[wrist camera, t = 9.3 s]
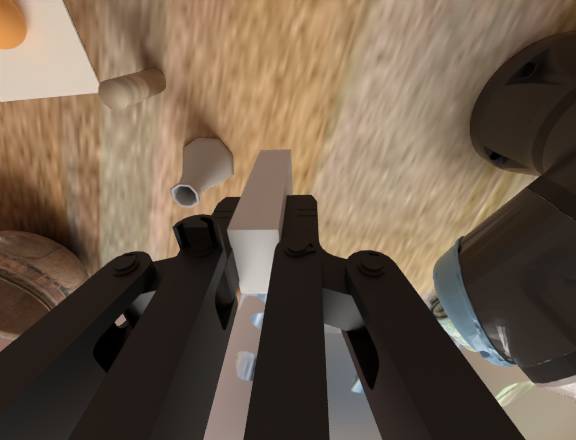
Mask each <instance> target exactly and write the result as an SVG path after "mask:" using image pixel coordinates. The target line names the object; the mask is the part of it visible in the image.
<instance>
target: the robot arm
mask: <svg viewBox="0 0 576 440" xmlns="http://www.w3.org/2000/svg"><path fill="white" fill-rule="evenodd" d="M470 136H471V141H472V144H473V146H474V148H475V150H476V151H477V152H478V154H479V155H480V156H481V157H483V158H484V159H485V160H487V161H488V162H489V163H491V164H492V165H494V166H496V167H498V168H500V169H503V170H506V171H510V172H516V173H522V174H528V175H534V176H539V177H538V178H537V179H536V180H534V181H533V182H532V183H531V184H530V185H528V186H527V187H525V188H524V189H523V190H522V191H521V192H519V193H518V194H517V195H516V196H515V197H513V198H512V199H511V200H510V201H508V202H507V203H506V204H505V205H503V206H502V207H501V208H500V209H498V210H497V211H496V212H495V213H493V214H492V215H491V216H490V217H488V218H487V219H486V220H484V221H483V222H482V223H481V224H479V225H478V226H477V227H476V228H474V229H473V230H472V231H471V232H469V233H468V234H467V235H466V236H461V237H460V238H459V239H457V241H456V242H455V245H454V246H453V247H451V248H450V249H449V250H448V251H447V252H446V253H445V254H444V255H442V256H441V257H440V258H439V259H438V260H437V262H436V264H435V266H434V270H433V279H434V286H435V290H436V293H437V296H438V298H439V300H440V303H441V305H442V307H443V309H444V311H445V312H446V314H447V316H448V317H449V319H450V320H451V322H452V324H453V325H454V326H455V328H456V329H457V331H458V332H459V333H460V335H461V336H462V337H463V338H464V340H465V341H466V342H467V343H468V344H469V345H470V346H471V347H472V348H473V349H474V350H475V351H479V352H480V354H481V355H482V357H483V358H484V359H486V360H487V361H489V362H491V363H493V364H495V365H498V366H510V367H512V366H514V365H516V364H517V365H518V366H519V367H520V368H521V370H522V371H523V372H524V373H525V374H526V375H527V376H528V378H529V379H530V380H531V381H532V382H533V383H534V384H535V385H536V386H537V387H540V388H543V389H546V390H549V391H552V392H555V393H558V394H561V395H564V396H567V397H568V398H570V399H572V400H574V401H575V402H576V31H571V32H564V33H559V34H555V35H552V36H549V37H546V38H544V39H542V40H539V41H537V42H535V43H533V44H532V45H530V46H528V47H526V48H525V49H523V50H522V51H520V52H519V53H517V54H516V55H515V56H513V57H512V58H511V59H510V60H509V61H507V62H506V63H505V64H504V65H503V66H502V67H501V68H500V69H499V70H498V71H497V72H496V73H495V75H494V76H493V77H492V78H491V79H490V81H489V82H488V83H487V85H486V86H485V88H484V89H483V91H482V92H481V94H480V96H479V98H478V100H477V102H476V104H475V107H474V110H473V113H472V117H471V123H470ZM534 192H535V193H534ZM537 194H538V195H537ZM540 196H541V197H540ZM543 198H544V199H545V200H544V199H543ZM547 201H548V202H547ZM550 203H551V204H550ZM553 205H554V206H553ZM557 208H558V209H557ZM560 210H561V211H560ZM567 215H568V216H567ZM570 217H571V218H570ZM573 219H574V220H573ZM172 228H173V230H174V233H175V236H176V239H177V241H178V244H179V247H180V251H179V253H178V255H177V256H176V257H172V258H168V259H164V260H159V261H155V262H153V261H152V259H151V257H150V256H149V254H147V253H145V252H139V251H134V252H130V253H125V254H123V255H121V256H118V257H116V258H115V259H113V260H112V261H110V262H109V263H107V264H106V265H105V266H104V267H102V268H101V269H100V270H99V271H98V272H96V273H95V274H94V275H93V276H92V277H90V278H89V279H88V280H87V281H86V282H84V283H83V284H82V285H81V286H79V287H78V288H77V289H76V290H75V291H73V292H72V293H71V294H70V295H69V296H67V297H66V298H65V299H64V300H63V301H61V302H60V303H59V304H58V305H57V306H55V307H54V308H53V309H52V310H50V311H49V312H48V313H47V314H46V315H44V316H43V317H42V318H41V319H40V320H38V321H37V322H36V323H35V324H34V325H32V326H31V327H30V328H29V329H27V330H26V331H25V332H24V333H23V334H21V335H20V336H19V337H18V338H17V339H15V340H14V341H13V342H12V343H11V344H9V345H8V346H7V347H6V348H5V349H3V350H2V351H1V352H0V440H203V438H204V434H205V430H206V426H207V423H208V419H209V415H210V411H211V407H212V404H213V399H214V396H215V392H216V388H217V384H218V380H219V377H220V372H221V369H222V365H223V361H224V357H225V353H226V349H227V345H228V341H229V338H230V334H231V330H232V326H233V322H234V318H235V315H236V311H237V307H238V300H237V296H236V291H237V288H238V284H239V286H240V290H241V293H256V294H267V299H266V306H265V311H264V318H263V324H262V330H261V336H260V342H259V348H258V354H257V360H256V367H255V373H254V379H253V385H252V391H251V397H250V403H249V410H248V416H247V422H246V428H245V434H244V440H329V421H328V420H329V419H328V402H327V401H328V400H327V379H326V358H325V339H324V323H325V324H328V325H331V326H334V327H337V328H340V329H341V331H342V334H343V337H344V339H345V342H346V345H347V347H348V350H349V353H350V355H351V358H352V361H353V363H354V366H355V368H356V371H357V374H358V376H359V379H360V382H361V384H362V387H363V390H364V392H365V395H366V397H367V400H368V403H369V405H370V408H371V411H372V413H373V416H374V418H375V421H376V424H377V426H378V429H379V432H380V434H381V437H382V439H383V440H525V438H524V437H523V436H522V434H521V433H520V432H519V430H518V429H517V427H516V426H515V425H514V423H513V422H512V421H511V419H510V418H509V417H508V415H507V414H506V413H505V411H504V410H503V408H502V407H501V406H500V404H499V403H498V402H497V400H496V399H495V398H494V396H493V395H492V393H491V392H490V391H489V389H488V388H487V387H486V385H485V384H484V383H483V381H482V380H481V379H480V377H479V376H478V375H477V373H476V372H475V370H473V368H472V366H471V365H470V364H469V362H468V361H467V360H466V358H465V357H464V356H463V354H462V353H461V351H460V350H459V349H458V347H457V346H456V345H455V343H454V342H453V341H452V339H451V338H450V336H449V335H448V334H447V332H446V331H445V330H444V328H443V327H442V326H441V324H440V323H439V322H438V320H437V319H436V317H435V316H434V315H433V313H432V312H431V311H430V309H429V308H428V307H427V305H426V304H425V303H424V301H423V300H422V298H421V297H420V296H419V294H418V293H417V292H416V290H415V289H414V288H413V286H412V285H411V284H410V282H409V281H408V279H407V278H406V277H405V275H404V274H403V273H402V271H401V270H400V269H399V267H398V266H397V265H396V263H395V262H394V261H393V260H392V259H391V258H390V257H388V256H386V255H384V254H382V253H380V252H376V251H372V250H364V251H359V252H355V253H353V254H352V255H351V256H349V257H348V259H344V258H340V257H336V256H333V255H331V254H329V253H327V252H326V251H325V250H324V249H323V248H322V247H321V245H320V243H319V234H318V214H317V201H316V200H315V199H314V197H313V196H312V195H293V185H292V164H291V150H260V152H259V155H258V157H257V160H256V162H255V164H254V167H253V169H252V172H251V174H250V176H249V179H248V181H247V183H246V186H245V188H244V191H243V193H242V195H241V197H226V198H224V199H223V200H222V201H221V202H219V203H218V204H217V206H216V208H215V210H214V213H212V215H204V214H201V215H193V216H190V217H187V218H184V219H183V220H181V221H179V222H177V223H176V224H175V225H174V226H173V227H172ZM121 314H123V315H124V317H125V318H126V321H125V322H124V323H123V324H122V325H120V326H117V325H116V324H115V321H116V319H118V318H119V317H120V315H121Z"/></svg>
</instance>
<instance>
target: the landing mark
mask: <svg viewBox="0 0 576 440" xmlns="http://www.w3.org/2000/svg"><path fill="white" fill-rule="evenodd" d="M11 1H12V2H13V3H14V4H15V5H16V6H17V7H18V9H19V10H20V12H21V13H22V15H23V17H24V19H25V22H26V26H27V34H26V38H25V40H24V41H23V42H22V43H21V44H20V45H19V46H17V47H15V48H12V49H0V102H3V101H13V100H24V99H35V98H45V97H56V96H67V95H77V94H88V93H98V87H99V85H100V83H99V80H98V78H97V76H96V73H95V71H94V69H93V67H92V64H91V62H90V60H89V58H88V55H87V53H86V51H85V48H84V46H83V44H82V42H81V39H80V37H79V35H78V33H77V30H76V28H75V26H74V23H73V21H72V19H71V17H70V14H69V12H68V10H67V7H66V5H65V3H64V1H63V0H11Z"/></svg>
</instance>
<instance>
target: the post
mask: <svg viewBox="0 0 576 440" xmlns="http://www.w3.org/2000/svg"><path fill="white" fill-rule="evenodd" d="M165 87H166V81H165V78H164V76H163V75H162V73H161V72H159V71H158V70H156V69H148V70H144V71H140V72H136V73H132V74H128V75H125V76H121V77H117V78H113V79H109V80H105V81H103V82H101V83H100V85H99V87H98V93H99V96H100V98H101V100H102V101H103V103H104V104H105V105H106V106H108V107H109V108H111V109H114V110H122V109H124V108H126V107H129V106H131V105H133V104H135V103H138V102H140V101H142V100H144V99H147V98H149V97H151V96H153V95H156V94H158V93H160V92H162V91H164V89H165Z"/></svg>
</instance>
